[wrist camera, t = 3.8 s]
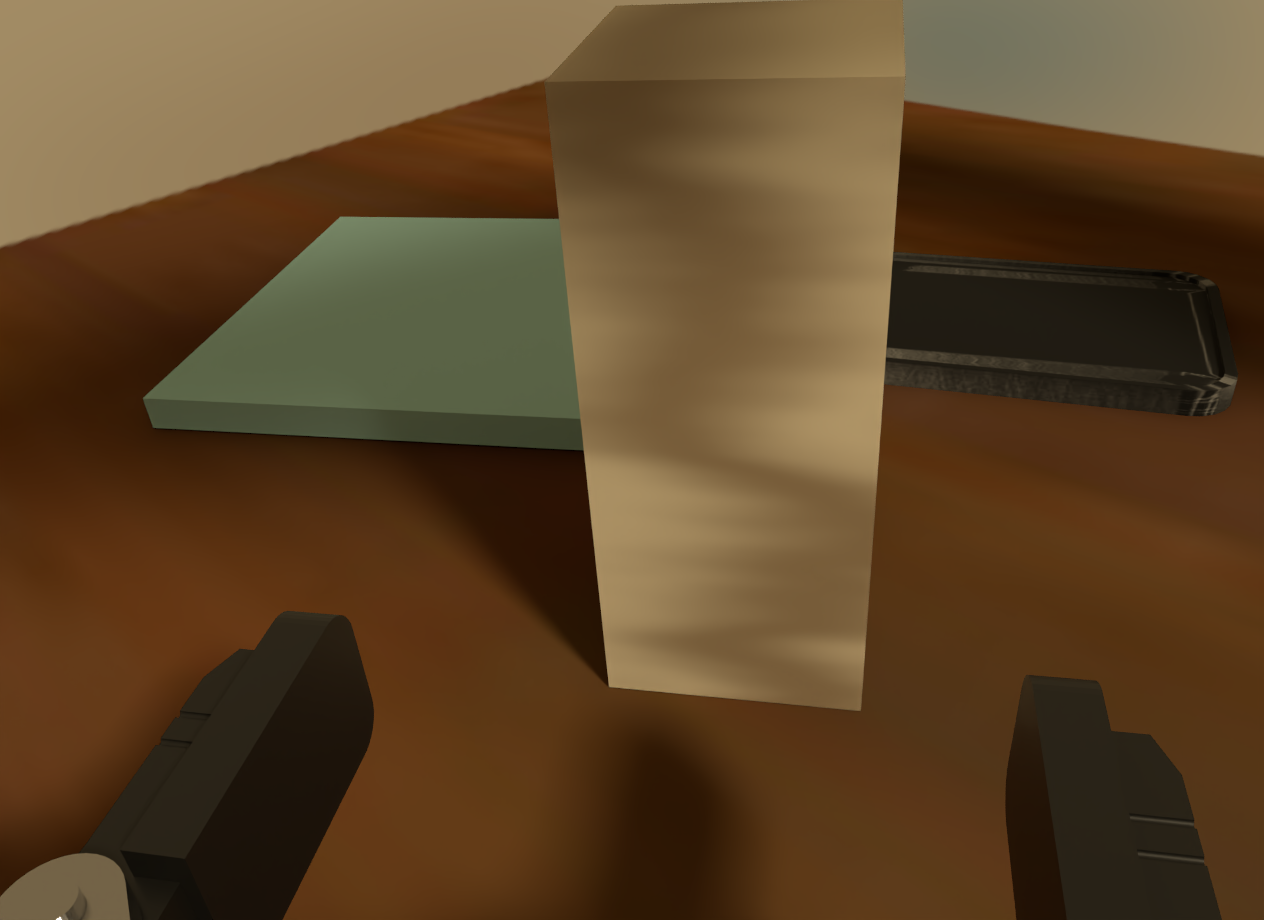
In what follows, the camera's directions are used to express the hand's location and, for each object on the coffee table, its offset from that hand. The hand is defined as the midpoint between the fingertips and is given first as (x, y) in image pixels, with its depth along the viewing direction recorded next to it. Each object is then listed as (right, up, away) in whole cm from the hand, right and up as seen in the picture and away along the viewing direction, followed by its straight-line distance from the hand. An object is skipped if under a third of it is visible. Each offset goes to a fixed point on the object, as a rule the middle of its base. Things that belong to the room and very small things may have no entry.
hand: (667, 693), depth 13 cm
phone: (+10, +6, +21) cm, 24 cm away
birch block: (+2, -1, +11) cm, 11 cm away
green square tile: (-6, +7, +23) cm, 25 cm away
